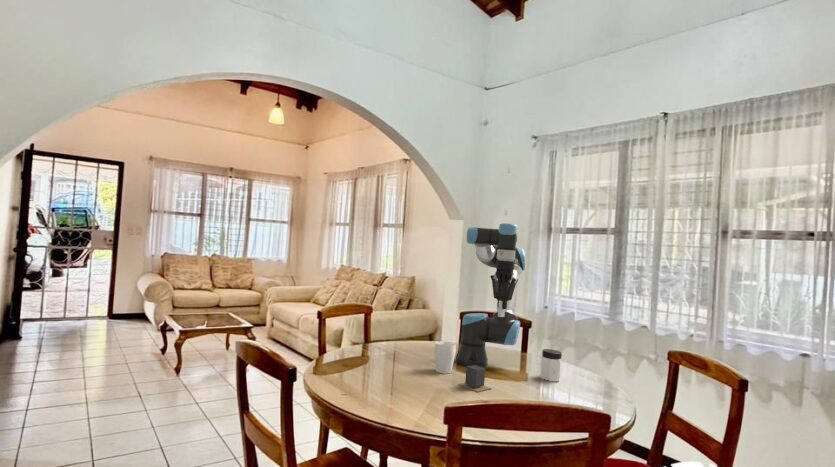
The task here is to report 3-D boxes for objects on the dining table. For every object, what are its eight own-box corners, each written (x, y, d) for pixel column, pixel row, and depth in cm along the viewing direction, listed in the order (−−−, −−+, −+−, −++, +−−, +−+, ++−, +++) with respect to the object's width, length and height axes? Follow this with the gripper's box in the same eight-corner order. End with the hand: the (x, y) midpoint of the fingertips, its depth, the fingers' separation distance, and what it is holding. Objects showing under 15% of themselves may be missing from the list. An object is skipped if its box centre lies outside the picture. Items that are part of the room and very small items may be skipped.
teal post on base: (458, 384, 175) (459, 366, 175) (471, 381, 180) (473, 364, 181) (477, 392, 168) (479, 373, 168) (491, 389, 173) (492, 370, 173)
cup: (454, 375, 188) (456, 346, 188) (433, 373, 188) (435, 344, 188) (453, 369, 197) (455, 342, 197) (432, 367, 197) (435, 340, 197)
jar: (544, 381, 191) (546, 353, 191) (536, 375, 199) (538, 348, 199) (563, 382, 192) (566, 354, 192) (555, 376, 200) (557, 349, 200)
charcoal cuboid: (465, 383, 174) (466, 366, 174) (473, 381, 178) (475, 364, 178) (475, 387, 170) (476, 369, 171) (484, 385, 174) (485, 368, 174)
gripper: (487, 258, 190) (483, 314, 189) (513, 261, 180) (508, 319, 180) (498, 259, 195) (494, 313, 194) (523, 261, 186) (519, 318, 185)
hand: (501, 316), depth 187 cm, fingers closed
